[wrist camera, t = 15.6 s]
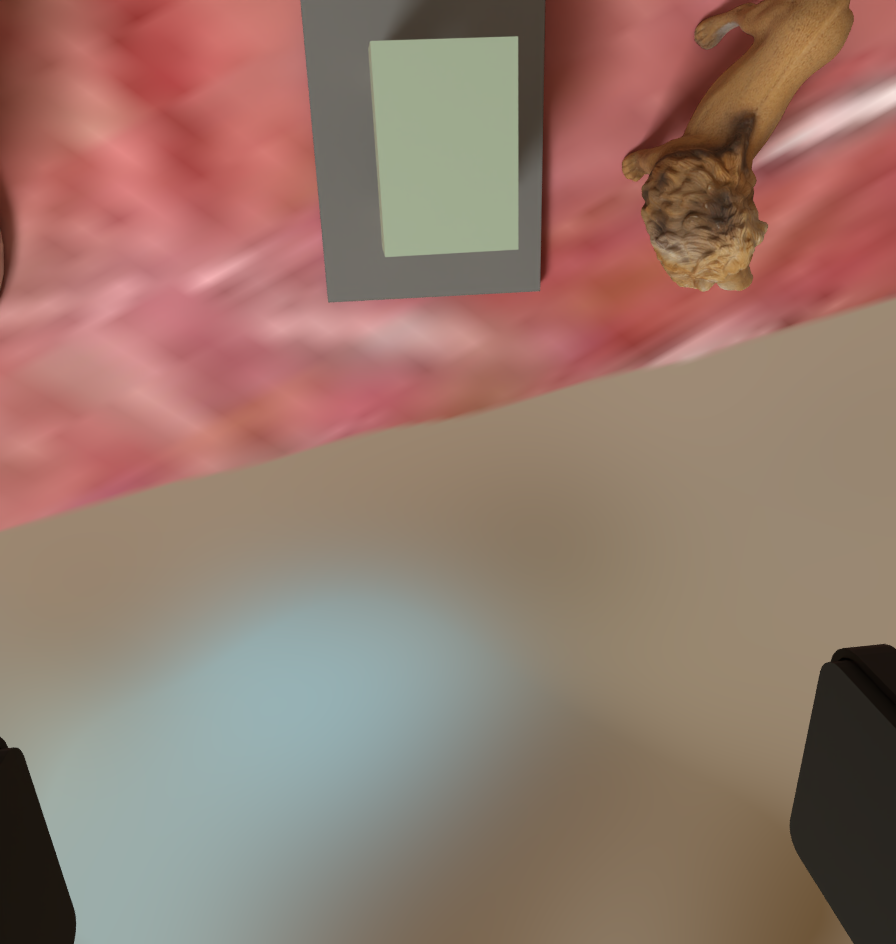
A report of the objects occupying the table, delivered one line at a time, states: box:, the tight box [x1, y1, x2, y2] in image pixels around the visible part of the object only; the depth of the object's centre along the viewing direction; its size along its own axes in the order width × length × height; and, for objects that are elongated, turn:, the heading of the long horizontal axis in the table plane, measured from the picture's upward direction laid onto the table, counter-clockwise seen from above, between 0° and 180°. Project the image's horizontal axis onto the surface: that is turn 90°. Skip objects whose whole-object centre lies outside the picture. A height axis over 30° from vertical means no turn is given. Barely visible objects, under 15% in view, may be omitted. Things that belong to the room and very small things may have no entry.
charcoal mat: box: [301, 0, 545, 302], centre depth 34 cm, size 10×14×1 cm
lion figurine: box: [622, 0, 854, 292], centre depth 31 cm, size 15×5×9 cm, turn 158°
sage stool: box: [368, 36, 518, 257], centre depth 31 cm, size 7×5×7 cm
